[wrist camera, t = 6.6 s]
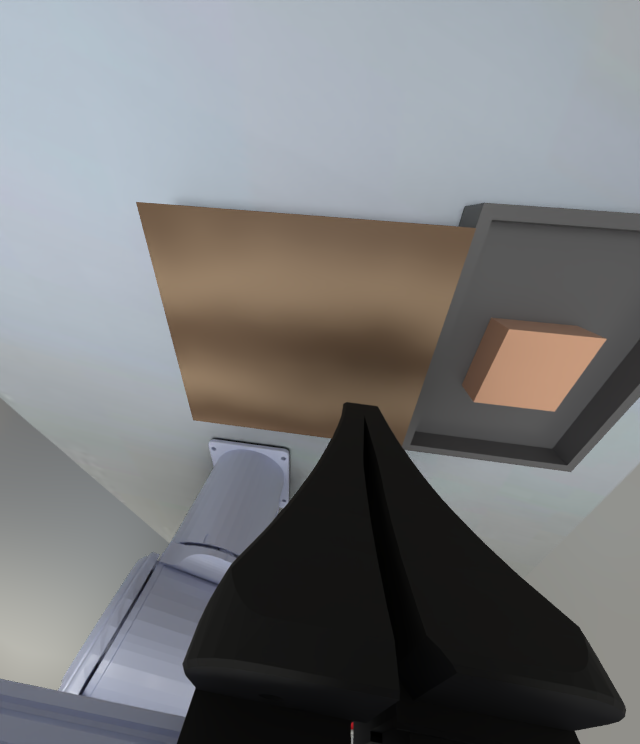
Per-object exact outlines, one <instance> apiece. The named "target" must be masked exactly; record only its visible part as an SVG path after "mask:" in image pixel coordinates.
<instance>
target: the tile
mask: <svg viewBox="0 0 640 744" xmlns="http://www.w3.org/2000/svg"><path fill="white" fill-rule="evenodd" d="M606 340H607V339H606V338H604V337H602V336H599V335H597V334H595V333H593V332H590V331H588V330H586V329H583V328H581V327H579V326H573V325H563V324H553V323H542V322H532V321H521V320H511V319H500V318H491V319H490V322H489V324H488V326H487V328H486V331H485V333H484V335H483V338H482V340H481V342H480V344H479V347H478V349H477V351H476V354H475V356H474V358H473V360H472V363H471V365H470V367H469V370H468V372H467V374H466V377H465V379H464V381H463V383H462V386H463V388H464V389H465V391H466V392H467V393H468V395H469V396H470V398H471V399H472V401H473V402H477V403H485V404H494V405H502V406H511V407H519V408H528V409H537V410H545V411H554V412H555V410H556V409H557V408H558V406H559V405H560V404H561V402H562V401H563V399H564V398H565V397H566V395H567V394H568V392H569V391H570V390H571V388H572V387H573V385H574V384H575V383H576V381H577V380H578V378H579V377H580V376H581V374H582V373H583V372H584V370H585V369H586V367H587V366H588V365H589V363H590V362H591V360H592V359H593V358H594V356H595V355H596V353H597V352H598V351H599V349H600V348H601V347H602V345H603V344H604V342H605V341H606Z"/></svg>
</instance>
